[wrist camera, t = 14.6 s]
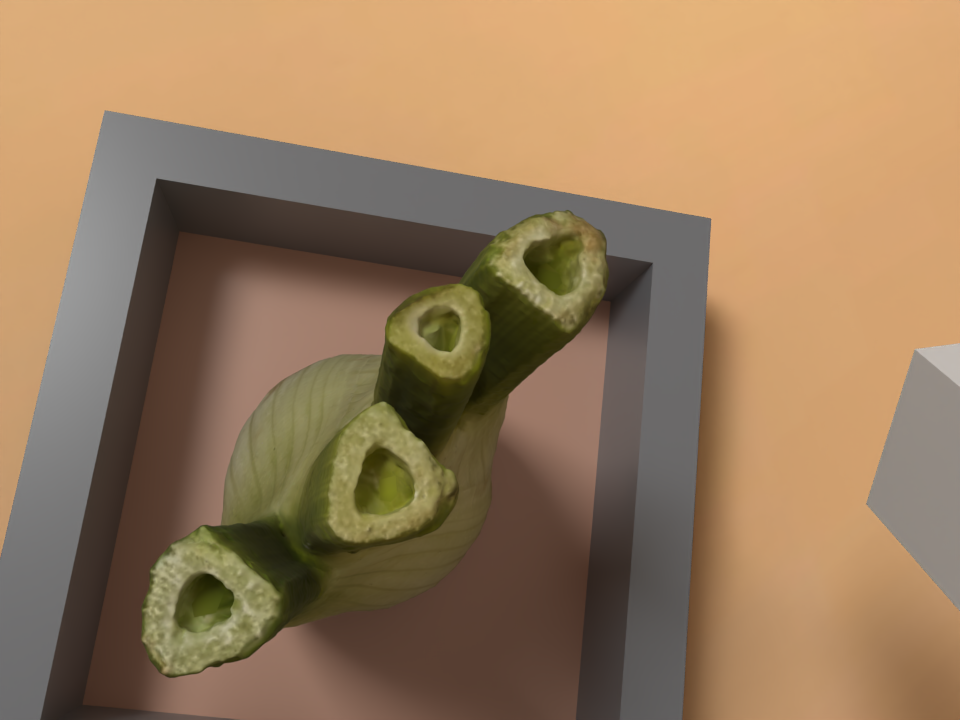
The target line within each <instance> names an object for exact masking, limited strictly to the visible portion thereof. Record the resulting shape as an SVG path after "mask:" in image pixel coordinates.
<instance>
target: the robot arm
mask: <svg viewBox="0 0 960 720" xmlns="http://www.w3.org/2000/svg"><path fill="white" fill-rule="evenodd" d="M866 504H867V505H868V507H869V508H870V509H871V510H872V511H873V512H874V513H875V515H876V516H877V517H878V518H879V519H880V520H881V521H882V523H883V524H884V525H885V526H886V527H887V528H888V529H889V531H890V532H891V533H892V534H893V535H894V536H895V537H896V539H897V540H898V541H899V542H900V543H901V544H902V545H903V547H904V548H905V549H906V550H907V551H908V552H909V553H910V555H911V556H912V557H913V558H914V559H915V560H916V561H917V563H918V564H919V565H920V566H921V567H922V568H923V569H924V571H925V572H926V573H927V574H928V575H929V576H930V577H931V579H932V580H933V581H934V582H935V583H936V584H937V586H938V587H939V588H940V589H941V590H942V591H943V592H944V594H945V595H946V596H947V597H948V598H949V599H950V600H951V602H952V603H953V604H954V605H955V606H956V607H957V608H958V610H959V611H960V343H959V344H951V345H943V346H936V347H928V348H920V349H915V350H914V353H913V357H912V360H911V363H910V366H909V369H908V373H907V376H906V379H905V382H904V385H903V389H902V392H901V395H900V398H899V401H898V404H897V408H896V411H895V414H894V417H893V420H892V424H891V427H890V430H889V433H888V436H887V439H886V443H885V446H884V449H883V452H882V455H881V459H880V462H879V465H878V468H877V471H876V475H875V478H874V481H873V484H872V487H871V490H870V494H869V497H868V500H867V503H866Z"/></svg>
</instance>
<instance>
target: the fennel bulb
mask: <svg viewBox="0 0 960 720" xmlns="http://www.w3.org/2000/svg"><path fill="white" fill-rule="evenodd" d="M606 252H607V240H606V237H605V235H604V233H603V232H602V231H601V230H599V229H596V228H595V227H593V226H592V225H591V224H589V223H588V222H587V221H586V220H584V219H583V218H581V217H578V216H576V215H574V214H573V213H572V212H571V211H569V210H566V211H554V212H548V213H545V214H535V215H533V216H531V217H528V218H526V219H524V220H522V221H521V222H519V223H518V224H516V225H514V226H513V227H511V228H509V229H508V230H505V231H502V232H499V233H498V234H497V235H496V236H495V238H494V239H493V240H492V241H491V242H490V243H489V244H488V245H487V246H486V247H485V248H484V249H483V250H482V251H481V252H480V254H479V255H478V257H477V258H476V260H475V261H474V262H473V263H472V265H471V266H470V267H469V269H468V270H467V271H466V273H465V274H464V276H463V277H462V279H461V280H460V282H459V283H458V284H448V285H443V286H438V287H430V288H428V289H425V290H423V291H421V292H419V293H416V294H414V295H412V296H410V297H408V298H407V299H406V300H405V301H403V302H402V303H401V304H400V305H399V306H398V307H397V308H396V309H395V310H394V311H393V312H392V313H391V314H390V315H389V316H388V318H387V323H386V326H385V344H384V348H383V353H382V355H373V354H370V355H366V354H364V355H363V354H341V355H338V356H335V357H332V358H326V359H323V360H320V361H318V362H315V363H313V364H311V365H309V366H307V367H305V368H303V369H301V370H299V371H298V372H296V373H294V374H292V375H290V376H288V377H287V378H285V379H283V380H282V381H280V382H279V383H278V384H277V385H276V386H274V387H273V388H272V389H271V390H270V391H269V392H268V393H267V394H266V396H265V397H264V398H263V400H262V401H261V402H260V404H259V405H258V406H257V408H256V409H255V410H254V411H253V413H252V414H251V416H250V417H249V418H248V420H247V421H246V423H245V424H244V426H243V427H242V429H241V431H240V433H239V436H238V438H237V441H236V444H235V448H234V451H233V454H232V456H231V459H230V463H229V465H228V469H227V474H226V477H225V483H224V495H223V512H222V520H221V525H219V526H210V525H201V526H200V527H198V528H197V529H196V530H195V531H193V532H192V533H190V534H189V535H187V536H186V537H184V538H182V539H179V540H177V541H175V542H173V543H172V544H170V545H169V547H168V548H167V549H166V551H165V552H164V553H163V554H161V555H160V556H159V558H158V559H157V561H156V562H155V563H154V564H153V566H152V567H151V568H150V578H149V581H150V585H149V589H148V592H147V594H146V596H145V599H144V602H143V604H142V608H141V612H142V632H141V641H142V643H143V645H144V647H145V649H146V652H147V654H148V657H149V660H150V661H151V663H152V664H153V665H154V666H155V667H156V668H157V670H158V672H159V673H161V674H162V675H164V676H166V677H168V678H176V677H179V676H186V675H191V674H198V673H201V672H202V671H204V670H205V669H206V668H208V667H220V666H221V665H223V664H224V663H232V662H236V661H240V660H243V659H247V658H249V657H250V656H251V655H252V654H254V653H255V652H256V651H257V650H258V649H259V648H260V647H261V646H262V645H264V644H265V643H267V642H268V641H270V640H271V639H273V638H274V637H275V636H276V635H277V633H278V632H280V631H281V630H282V629H283V628H289V627H296V626H299V625H302V624H306V623H309V622H313V621H316V620H319V619H323V618H326V617H329V616H335V615H339V614H341V613H345V612H352V611H373V610H378V609H388V608H390V607H392V606H395V605H397V604H399V603H402V602H404V601H407V600H409V599H410V598H413V597H416V596H417V595H419V594H421V593H423V592H426V591H427V590H429V589H430V588H433V587H435V586H436V585H437V584H438V583H439V581H441V580H442V579H443V578H444V577H446V576H447V575H448V574H449V573H450V572H451V571H452V570H453V569H454V568H455V567H456V566H457V565H458V563H459V562H460V561H461V560H462V558H463V557H464V556H465V554H466V552H467V551H468V549H469V548H470V547H471V545H472V544H473V543H474V541H475V540H476V539H477V537H478V536H479V534H480V532H481V529H482V526H483V524H484V522H485V520H486V517H487V512H488V510H489V507H490V505H491V501H492V481H491V474H492V464H493V458H494V454H495V452H496V449H497V442H498V437H499V432H500V429H501V427H502V425H503V422H504V420H505V412H506V409H507V402H508V398H509V394H510V393H511V392H512V391H513V390H514V389H515V388H516V387H517V386H518V385H519V384H521V382H522V381H524V380H525V379H526V378H527V377H528V376H529V375H531V374H532V373H533V372H534V371H535V370H536V369H537V368H538V367H539V366H540V365H542V364H543V363H545V362H546V361H547V360H548V359H549V358H550V357H551V356H553V355H554V354H555V353H556V352H558V351H560V350H561V349H562V348H563V347H565V345H566V344H567V343H569V342H571V341H572V340H573V339H574V338H575V337H576V335H577V334H579V333H580V332H581V330H582V328H583V327H584V326H585V325H586V324H587V323H588V322H589V320H590V319H591V317H592V315H593V314H594V313H595V311H596V308H597V306H598V305H599V304H600V302H601V300H602V298H603V296H604V294H605V292H606V288H607V282H608V278H609V269H608V263H607V261H606Z"/></svg>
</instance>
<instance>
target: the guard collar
mask: <svg viewBox="0 0 960 720" xmlns="http://www.w3.org/2000/svg"><path fill="white" fill-rule="evenodd" d="M566 210H569V211H571V212H572V213H573V214H574V215H576V216H578V217H581V218H583V219H584V220H586V221H587V222H588V223H589V224H591V225H592V226H593V227H595V228H596V229H599V230H601V231H602V232H603V233H604V235H605V237H606V240H607V252H606V261H607V263H608V269H609V278H608V282H607V288H606V292H605V294H604V296H603V298H602V300H601V302H600V304H599V305H598V306H597V308H596V311H595V313H594V314H593V315H592V317H591V319H590V320H589V322H588V323H587V324H586V325H585V326H584V327H583V328H582V330H581V332H580V333H579V334H577V335H576V337H575V338H574V339H573V340H572V341H571V342H569V343H567V344H566V345H565V347H563V348H562V349H561V350H560V351H558V352H556V353H555V354H554V355H553V356H551V357H550V358H549V359H548V360H547V361H546V362H545V363H543V364H542V365H540V366H539V367H538V368H537V369H536V370H535V371H534V372H533V373H532V374H531V375H529V376H528V377H527V378H526V379H525V380H524V381H522V382H521V384H519V385H518V386H517V387H516V388H515V389H514V390H513V391H512V392H511V393H510V394H509V398H508V402H507V409H506V412H505V420H504V422H503V425H502V427H501V429H500V432H499V437H498V442H497V449H496V452H495V454H494V458H493V464H492V474H491V481H492V501H491V505H490V507H489V510H488V512H487V517H486V520H485V522H484V524H483V526H482V529H481V532H480V534H479V536H478V537H477V539H476V540H475V541H474V543H473V544H472V545H471V547H470V548H469V549H468V551H467V552H466V554H465V556H464V557H463V558H462V560H461V561H460V562H459V563H458V565H457V566H456V567H455V568H454V569H453V570H452V571H451V572H450V573H449V574H448V575H447V576H446V577H444V578H443V579H442V580H441V581H439V583H438V584H437V585H436V586H435V587H433V588H430V589H429V590H427V591H426V592H423V593H421V594H419V595H417V596H416V597H413V598H410V599H409V600H407V601H404V602H402V603H399V604H397V605H395V606H392V607H390V608H388V609H378V610H373V611H352V612H345V613H341V614H339V615H335V616H329V617H326V618H323V619H319V620H316V621H313V622H309V623H306V624H302V625H299V626H296V627H289V628H283V629H282V630H281V631H280V632H278V633H277V635H276V636H275V637H274V638H273V639H271V640H270V641H268V642H267V643H265V644H264V645H262V646H261V647H260V648H259V649H258V650H257V651H256V652H255V653H254V654H252V655H251V656H250V657H249V658H247V659H243V660H240V661H236V662H232V663H224V664H223V665H221V666H220V667H208V668H206V669H205V670H204V671H202V672H201V673H198V674H191V675H186V676H179V677H176V678H168V677H166V676H164V675H162V674H161V673H159V672H158V670H157V668H156V667H155V666H154V665H153V664H152V663H151V661H150V660H149V657H148V654H147V652H146V649H145V647H144V645H143V643H142V641H141V632H142V612H141V608H142V604H143V602H144V599H145V596H146V594H147V592H148V589H149V585H150V581H149V578H150V568H151V567H152V566H153V564H154V563H155V562H156V561H157V559H158V558H159V556H160V555H161V554H163V553H164V552H165V551H166V549H167V548H168V547H169V545H170V544H172V543H173V542H175V541H177V540H179V539H182V538H184V537H186V536H187V535H189V534H190V533H192V532H193V531H195V530H196V529H197V528H198V527H200V526H201V525H210V526H219V525H221V520H222V512H223V495H224V483H225V477H226V474H227V469H228V465H229V463H230V459H231V456H232V454H233V451H234V448H235V444H236V441H237V438H238V436H239V433H240V431H241V429H242V427H243V426H244V424H245V423H246V421H247V420H248V418H249V417H250V416H251V414H252V413H253V411H254V410H255V409H256V408H257V406H258V405H259V404H260V402H261V401H262V400H263V398H264V397H265V396H266V394H267V393H268V392H269V391H270V390H271V389H272V388H273V387H274V386H276V385H277V384H278V383H279V382H280V381H282V380H283V379H285V378H287V377H288V376H290V375H292V374H294V373H296V372H298V371H299V370H301V369H303V368H305V367H307V366H309V365H311V364H313V363H315V362H318V361H320V360H323V359H326V358H332V357H335V356H338V355H341V354H363V355H364V354H366V355H370V354H373V355H382V353H383V348H384V344H385V326H386V323H387V318H388V316H389V315H390V314H391V313H392V312H393V311H394V310H395V309H396V308H397V307H398V306H399V305H400V304H401V303H402V302H403V301H405V300H406V299H407V298H408V297H410V296H412V295H414V294H416V293H419V292H421V291H423V290H425V289H428V288H430V287H438V286H443V285H448V284H458V283H459V282H460V280H461V279H462V277H463V276H464V274H465V273H466V271H467V270H468V269H469V267H470V266H471V265H472V263H473V262H474V261H475V260H476V258H477V257H478V255H479V254H480V252H481V251H482V250H483V249H484V248H485V247H486V246H487V245H488V244H489V243H490V242H491V241H492V240H493V239H494V238H495V236H496V235H497V234H498V233H499V232H502V231H505V230H508V229H509V228H511V227H513V226H514V225H516V224H518V223H519V222H521V221H522V220H524V219H526V218H528V217H531V216H533V215H535V214H545V213H548V212H554V211H566ZM710 231H711V218H705V217H699V216H694V215H688V214H683V213H677V212H671V211H666V210H660V209H654V208H649V207H643V206H638V205H632V204H626V203H621V202H615V201H610V200H604V199H598V198H593V197H587V196H582V195H576V194H570V193H565V192H559V191H554V190H548V189H542V188H537V187H531V186H526V185H520V184H514V183H509V182H503V181H498V180H492V179H486V178H481V177H475V176H470V175H464V174H458V173H453V172H447V171H442V170H436V169H430V168H425V167H419V166H414V165H408V164H402V163H397V162H391V161H386V160H380V159H374V158H369V157H363V156H357V155H352V154H346V153H341V152H335V151H329V150H324V149H318V148H313V147H307V146H301V145H296V144H290V143H285V142H279V141H273V140H268V139H262V138H257V137H251V136H245V135H240V134H234V133H229V132H223V131H217V130H212V129H206V128H201V127H195V126H189V125H184V124H178V123H173V122H167V121H161V120H156V119H150V118H145V117H139V116H133V115H128V114H122V113H117V112H111V111H105V112H104V116H103V120H102V124H101V129H100V133H99V137H98V142H97V146H96V150H95V154H94V159H93V163H92V167H91V172H90V176H89V180H88V184H87V189H86V193H85V197H84V202H83V206H82V210H81V214H80V219H79V223H78V227H77V232H76V236H75V240H74V244H73V249H72V253H71V257H70V262H69V266H68V270H67V274H66V279H65V283H64V287H63V292H62V296H61V300H60V304H59V309H58V313H57V317H56V322H55V326H54V330H53V334H52V339H51V343H50V347H49V352H48V356H47V360H46V364H45V369H44V373H43V377H42V382H41V386H40V390H39V394H38V399H37V403H36V407H35V412H34V416H33V420H32V424H31V429H30V433H29V437H28V442H27V446H26V450H25V454H24V459H23V463H22V467H21V472H20V476H19V480H18V484H17V489H16V493H15V497H14V502H13V506H12V510H11V514H10V519H9V523H8V527H7V532H6V536H5V540H4V544H3V549H2V553H1V557H0V720H682V714H683V697H684V680H685V663H686V645H687V628H688V611H689V593H690V576H691V559H692V542H693V524H694V507H695V490H696V473H697V455H698V438H699V421H700V403H701V386H702V369H703V352H704V334H705V317H706V300H707V282H708V265H709V248H710Z"/></svg>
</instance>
